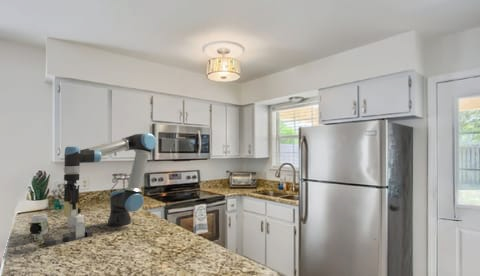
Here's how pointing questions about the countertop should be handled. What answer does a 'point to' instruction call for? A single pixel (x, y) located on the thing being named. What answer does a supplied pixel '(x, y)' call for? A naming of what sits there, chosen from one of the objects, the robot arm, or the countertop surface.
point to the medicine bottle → (75, 219)
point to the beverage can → (40, 216)
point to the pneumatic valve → (38, 228)
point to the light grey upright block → (78, 229)
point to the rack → (65, 238)
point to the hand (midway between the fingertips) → (70, 214)
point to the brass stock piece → (69, 208)
